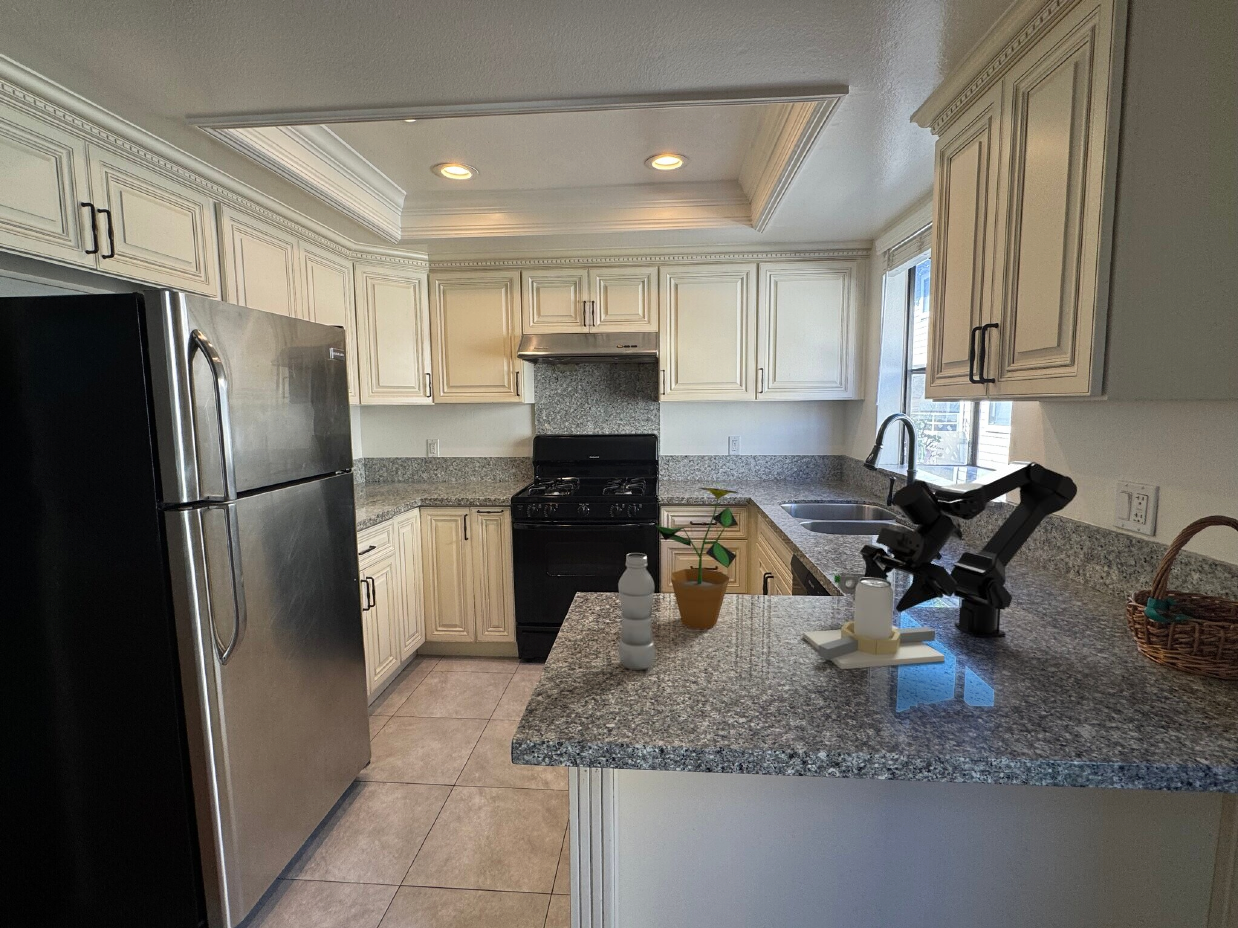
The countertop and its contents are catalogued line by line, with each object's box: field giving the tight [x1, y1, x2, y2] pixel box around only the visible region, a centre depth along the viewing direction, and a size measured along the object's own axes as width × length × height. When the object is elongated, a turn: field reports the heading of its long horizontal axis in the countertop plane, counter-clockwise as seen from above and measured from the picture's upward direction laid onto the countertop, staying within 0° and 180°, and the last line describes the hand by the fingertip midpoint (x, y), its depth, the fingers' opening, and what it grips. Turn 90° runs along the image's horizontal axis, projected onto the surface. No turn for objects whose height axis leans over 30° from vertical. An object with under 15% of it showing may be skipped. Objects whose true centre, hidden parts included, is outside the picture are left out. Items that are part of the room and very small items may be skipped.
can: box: [853, 577, 894, 640], centre depth 103 cm, size 6×6×12 cm
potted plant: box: [654, 487, 739, 630], centre depth 116 cm, size 18×19×30 cm
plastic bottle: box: [617, 552, 656, 671], centre depth 96 cm, size 6×7×20 cm
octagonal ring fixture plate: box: [802, 620, 945, 670], centre depth 104 cm, size 25×14×4 cm, turn 99°
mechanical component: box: [833, 572, 888, 602], centre depth 117 cm, size 3×10×10 cm, turn 78°
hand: (878, 602), depth 103 cm, fingers open, 9 cm apart
